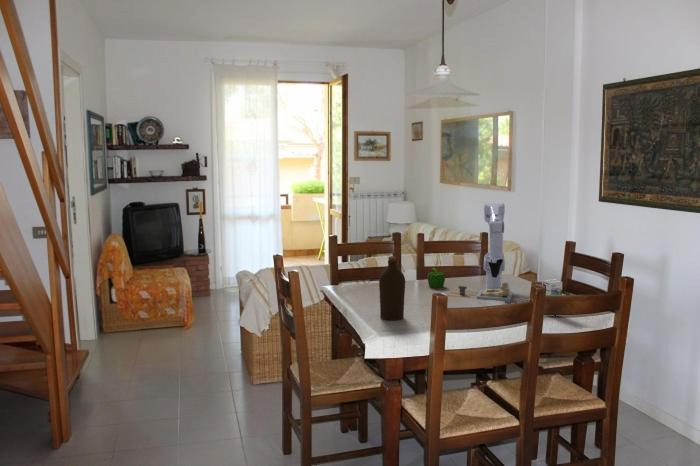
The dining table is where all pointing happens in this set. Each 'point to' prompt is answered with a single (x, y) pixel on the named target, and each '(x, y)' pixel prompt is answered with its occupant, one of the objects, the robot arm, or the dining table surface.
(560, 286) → the syrup box
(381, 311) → the olive oil
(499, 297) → the slate tray
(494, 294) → the tan frame with tab
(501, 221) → the robot arm
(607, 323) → the dining table surface
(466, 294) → the base
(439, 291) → the dining table surface
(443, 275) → the bell pepper
